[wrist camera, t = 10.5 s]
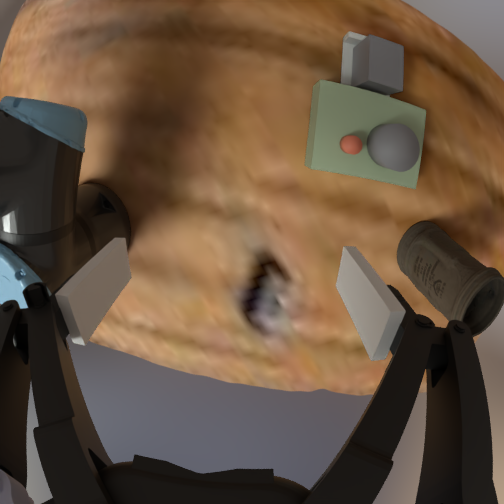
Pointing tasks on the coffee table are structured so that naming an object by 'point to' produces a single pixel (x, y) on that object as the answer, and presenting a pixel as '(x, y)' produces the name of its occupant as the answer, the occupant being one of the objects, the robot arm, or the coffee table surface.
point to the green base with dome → (363, 129)
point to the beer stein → (451, 277)
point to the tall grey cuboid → (378, 66)
